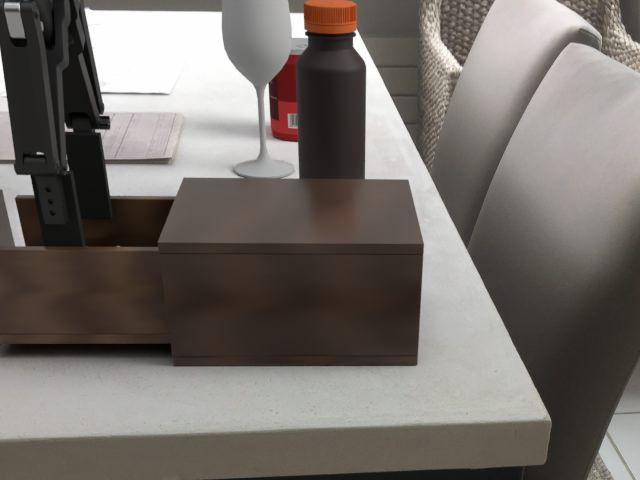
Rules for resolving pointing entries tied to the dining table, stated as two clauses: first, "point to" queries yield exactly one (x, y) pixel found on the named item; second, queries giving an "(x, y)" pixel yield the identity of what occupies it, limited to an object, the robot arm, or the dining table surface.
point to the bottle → (331, 94)
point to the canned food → (286, 95)
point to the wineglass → (258, 63)
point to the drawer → (85, 278)
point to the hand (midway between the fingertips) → (82, 238)
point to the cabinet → (292, 272)
